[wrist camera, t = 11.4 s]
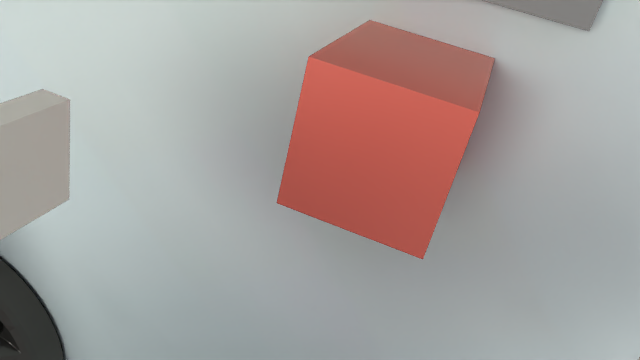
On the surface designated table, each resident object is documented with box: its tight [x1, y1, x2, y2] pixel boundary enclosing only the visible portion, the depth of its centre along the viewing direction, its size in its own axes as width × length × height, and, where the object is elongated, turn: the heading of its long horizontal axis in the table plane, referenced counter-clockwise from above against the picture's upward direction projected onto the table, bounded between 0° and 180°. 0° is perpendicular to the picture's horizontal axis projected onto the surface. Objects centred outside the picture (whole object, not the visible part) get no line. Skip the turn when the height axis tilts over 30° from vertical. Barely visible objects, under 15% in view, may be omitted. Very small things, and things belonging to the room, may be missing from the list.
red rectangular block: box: [277, 20, 495, 259], centre depth 20 cm, size 5×5×7 cm
